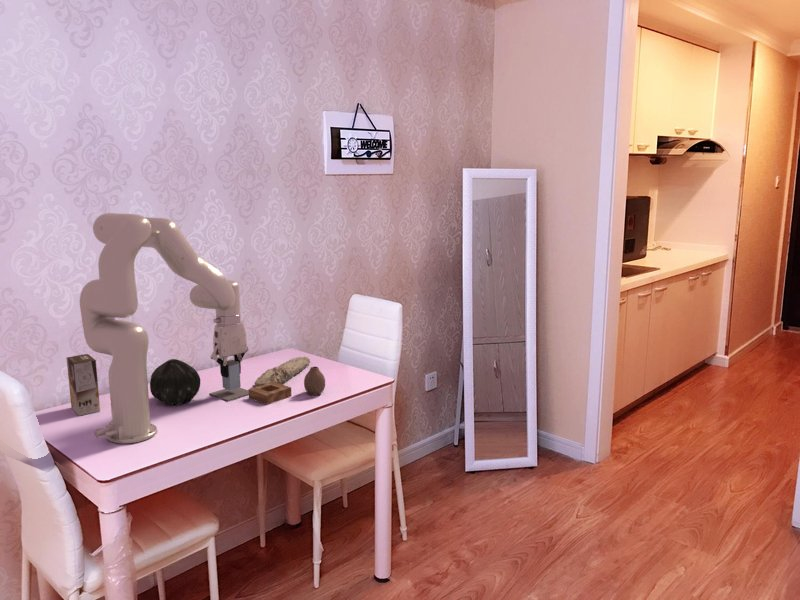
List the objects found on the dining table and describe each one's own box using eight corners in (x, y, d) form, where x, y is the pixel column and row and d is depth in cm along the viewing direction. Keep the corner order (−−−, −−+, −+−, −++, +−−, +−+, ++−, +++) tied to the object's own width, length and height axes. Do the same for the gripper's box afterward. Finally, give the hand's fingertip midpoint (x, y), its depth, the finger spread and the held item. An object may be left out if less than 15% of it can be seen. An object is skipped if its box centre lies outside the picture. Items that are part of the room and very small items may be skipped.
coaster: (228, 401, 203) (228, 400, 203) (209, 394, 210) (209, 393, 210) (253, 393, 211) (253, 392, 211) (234, 386, 217) (234, 385, 217)
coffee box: (101, 411, 194) (96, 359, 191) (78, 416, 190) (73, 363, 187) (92, 403, 201) (88, 353, 198) (70, 407, 197) (65, 356, 194)
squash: (184, 372, 215) (158, 346, 204) (216, 381, 207) (191, 355, 197) (158, 408, 208) (130, 384, 197) (191, 419, 201) (163, 394, 190)
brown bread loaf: (317, 367, 245) (293, 366, 248) (316, 354, 244) (292, 353, 247) (274, 392, 212) (247, 390, 214) (274, 376, 211) (246, 375, 214)
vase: (319, 397, 207) (319, 371, 206) (300, 395, 210) (299, 369, 208) (328, 391, 214) (328, 365, 212) (310, 388, 216) (309, 363, 214)
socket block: (267, 404, 201) (266, 395, 200) (248, 398, 206) (248, 389, 206) (291, 396, 209) (291, 387, 208) (273, 390, 214) (272, 381, 214)
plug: (230, 390, 207) (228, 364, 206) (222, 387, 210) (221, 362, 208) (240, 387, 210) (239, 361, 209) (233, 384, 213) (231, 359, 211)
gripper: (213, 326, 197) (216, 383, 200) (256, 316, 210) (259, 371, 213) (198, 322, 201) (201, 378, 205) (242, 313, 214) (244, 366, 218)
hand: (230, 374), depth 209 cm, fingers closed on plug, 4 cm apart
